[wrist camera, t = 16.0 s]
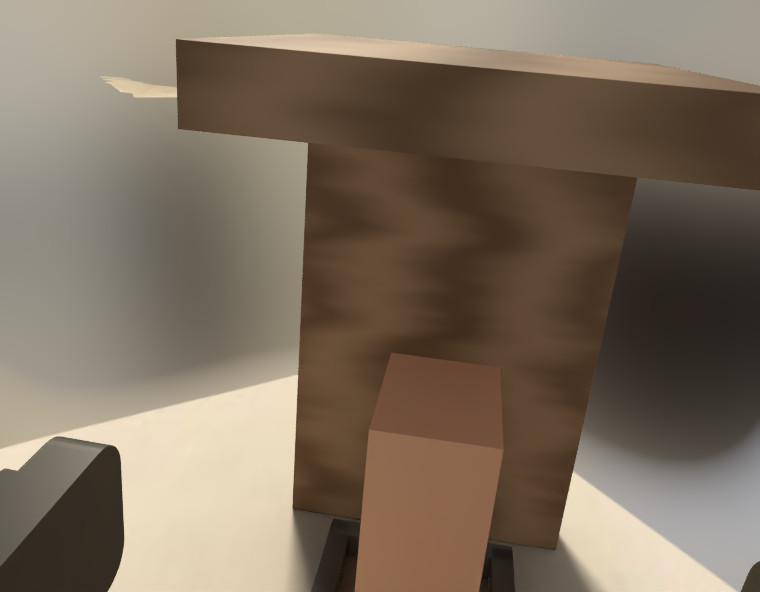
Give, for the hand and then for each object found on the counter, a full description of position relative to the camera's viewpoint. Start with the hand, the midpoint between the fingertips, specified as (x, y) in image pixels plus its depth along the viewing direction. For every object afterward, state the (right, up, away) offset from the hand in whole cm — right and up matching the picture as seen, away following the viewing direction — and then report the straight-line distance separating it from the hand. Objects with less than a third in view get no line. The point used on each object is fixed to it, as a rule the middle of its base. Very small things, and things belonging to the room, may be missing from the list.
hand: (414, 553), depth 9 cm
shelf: (+1, -11, +22) cm, 25 cm away
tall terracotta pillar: (+1, -12, +21) cm, 24 cm away
